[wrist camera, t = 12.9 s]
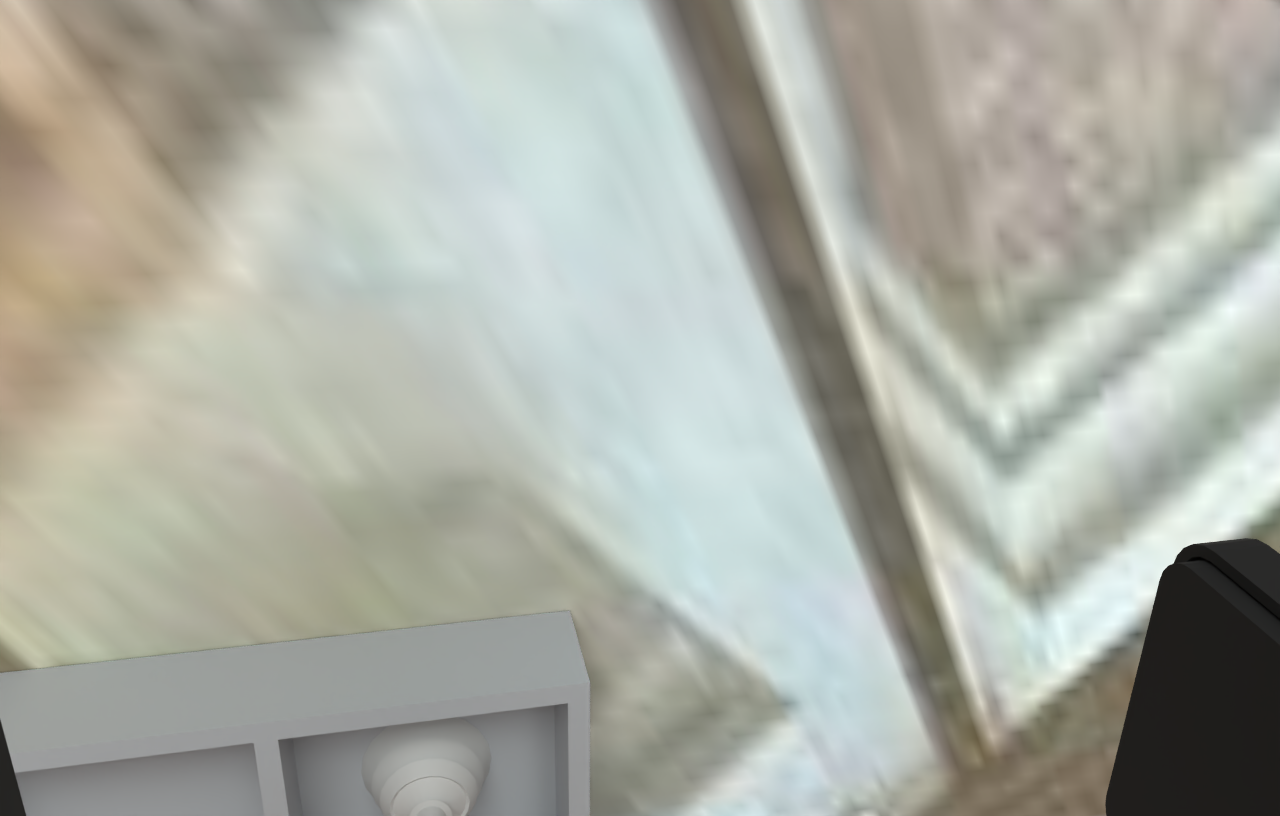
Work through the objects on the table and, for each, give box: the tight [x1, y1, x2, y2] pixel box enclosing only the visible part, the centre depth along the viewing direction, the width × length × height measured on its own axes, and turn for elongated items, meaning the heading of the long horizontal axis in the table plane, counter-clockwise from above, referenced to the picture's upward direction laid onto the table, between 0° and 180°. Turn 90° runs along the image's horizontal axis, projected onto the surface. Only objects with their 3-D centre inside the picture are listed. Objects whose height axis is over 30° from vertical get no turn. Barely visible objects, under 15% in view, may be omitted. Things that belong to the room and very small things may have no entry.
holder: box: [0, 611, 590, 816], centre depth 44 cm, size 22×12×4 cm, turn 89°
